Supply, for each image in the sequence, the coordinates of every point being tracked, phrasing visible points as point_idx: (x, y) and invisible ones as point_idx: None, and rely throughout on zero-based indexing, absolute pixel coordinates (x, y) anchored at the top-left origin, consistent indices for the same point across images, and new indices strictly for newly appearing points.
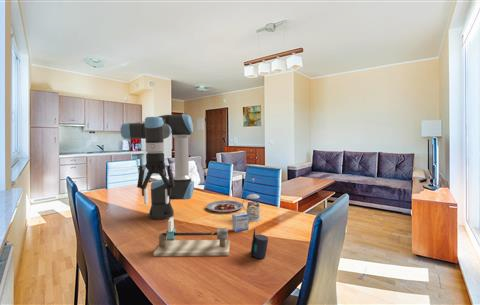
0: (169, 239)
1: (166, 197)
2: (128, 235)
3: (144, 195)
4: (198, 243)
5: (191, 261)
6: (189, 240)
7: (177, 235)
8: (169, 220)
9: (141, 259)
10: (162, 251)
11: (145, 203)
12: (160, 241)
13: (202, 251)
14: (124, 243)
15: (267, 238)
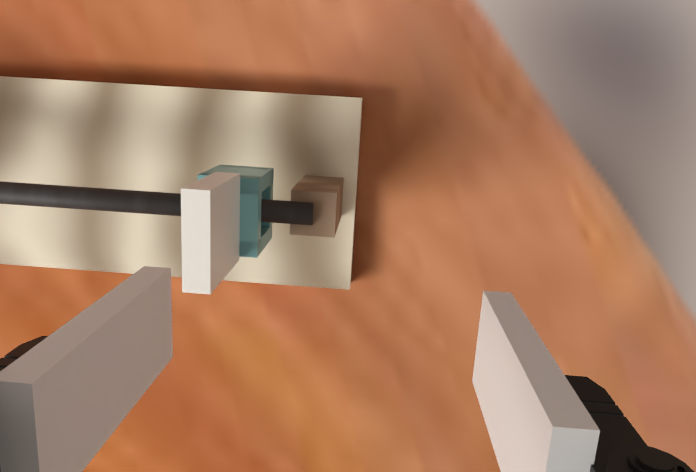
0: (249, 167)
1: (105, 301)
2: (644, 436)
3: (541, 354)
4: (77, 216)
5: (88, 5)
6: None
7: None
8: (196, 199)
9: (434, 58)
10: (303, 113)
11: (494, 295)
12: (329, 183)
13: (20, 89)
14: (632, 309)
15: None
